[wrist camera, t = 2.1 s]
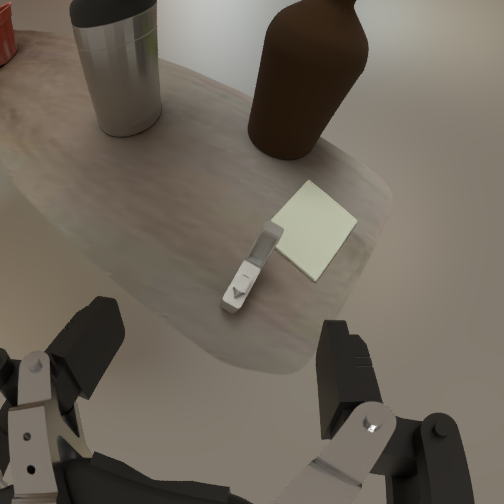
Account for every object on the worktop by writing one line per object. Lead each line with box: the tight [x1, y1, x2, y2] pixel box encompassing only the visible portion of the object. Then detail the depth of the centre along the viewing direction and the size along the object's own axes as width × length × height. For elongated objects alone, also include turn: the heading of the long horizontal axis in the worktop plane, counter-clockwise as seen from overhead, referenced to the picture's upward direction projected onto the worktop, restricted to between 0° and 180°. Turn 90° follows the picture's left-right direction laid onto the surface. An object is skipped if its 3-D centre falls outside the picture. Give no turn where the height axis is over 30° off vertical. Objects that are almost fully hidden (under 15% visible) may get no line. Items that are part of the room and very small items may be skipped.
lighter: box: [220, 220, 284, 314], centre depth 25 cm, size 7×2×8 cm, turn 152°
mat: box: [271, 179, 357, 282], centre depth 32 cm, size 8×10×1 cm
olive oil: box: [248, 0, 369, 160], centre depth 25 cm, size 11×11×25 cm
